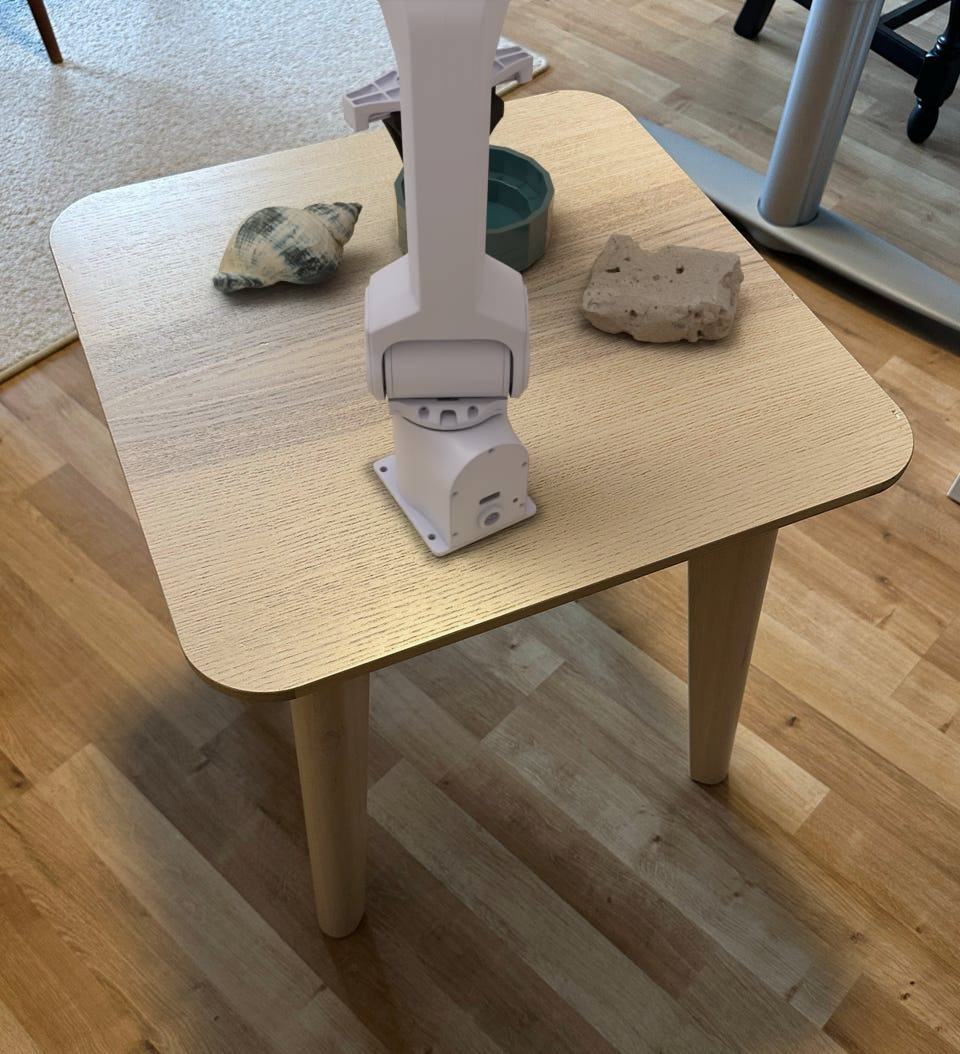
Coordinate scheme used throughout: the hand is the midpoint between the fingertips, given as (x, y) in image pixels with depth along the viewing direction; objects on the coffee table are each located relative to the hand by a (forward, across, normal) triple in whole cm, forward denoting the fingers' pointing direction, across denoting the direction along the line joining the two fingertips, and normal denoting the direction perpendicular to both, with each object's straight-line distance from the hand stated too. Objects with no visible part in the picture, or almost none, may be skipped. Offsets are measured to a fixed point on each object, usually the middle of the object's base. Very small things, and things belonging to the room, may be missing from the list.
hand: (441, 188), depth 84 cm
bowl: (+8, -5, -4) cm, 11 cm away
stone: (+9, -13, +12) cm, 20 cm away
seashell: (+9, +11, -6) cm, 15 cm away
